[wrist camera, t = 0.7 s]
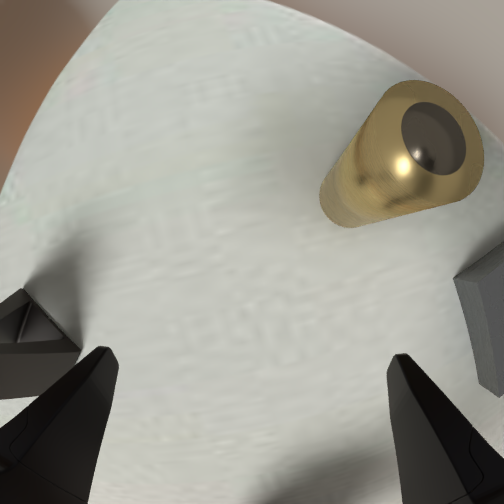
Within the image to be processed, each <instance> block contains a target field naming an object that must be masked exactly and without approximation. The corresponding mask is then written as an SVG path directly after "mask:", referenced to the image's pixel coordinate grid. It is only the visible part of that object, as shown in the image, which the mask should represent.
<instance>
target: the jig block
mask: <svg viewBox="0 0 504 504" xmlns="http://www.w3.org/2000/svg"><path fill="white" fill-rule="evenodd" d="M453 280H454V283H455V286H456V289H457V292H458V296H459V299H460V302H461V306H462V309H463V313H464V316H465V320H466V324H467V328H468V332H469V336H470V340H471V344H472V349H473V353H474V358H475V363H476V368H477V373H478V379H479V384H480V385H482V386H483V387H484V388H486V389H487V390H489V391H490V392H492V393H493V394H494V395H496V396H497V397H499V398H500V397H501V396H502V395H503V394H504V241H503V242H502V243H501V244H500V245H498V246H497V247H496V248H495V249H493V250H492V251H491V252H489V253H488V254H487V255H485V256H484V257H483V258H481V259H480V260H479V261H477V262H476V263H474V264H473V265H472V266H470V267H469V268H468V269H466V270H465V271H463V272H462V273H460V274H459V275H458V276H456V277H455V278H453Z"/></svg>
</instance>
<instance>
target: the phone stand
mask: <svg viewBox="0 0 504 504" xmlns="http://www.w3.org/2000/svg"><path fill="white" fill-rule="evenodd" d="M80 351H81V350H80V348H79V347H78V346H77V345H76V344H75V343H73V342H72V341H71V340H70V339H69V338H68V337H67V336H66V335H65V334H64V333H63V332H62V331H61V330H60V329H59V328H58V326H57V325H56V324H55V323H54V322H53V321H52V320H50V319H48V316H47V315H46V314H45V313H44V312H43V310H42V309H41V308H40V307H39V306H38V305H37V304H36V303H35V301H34V300H33V299H32V298H31V297H30V296H29V295H28V293H27V292H26V291H25V290H24V289H19V290H18V291H16V292H15V293H14V294H12V295H11V296H9V297H8V298H7V299H5V300H4V301H3V302H1V303H0V400H2V399H13V398H23V397H33V396H40V395H41V394H42V393H43V392H44V391H46V390H47V389H48V388H49V387H50V386H51V385H53V384H54V383H55V382H56V381H57V380H58V379H60V378H61V377H62V376H63V375H64V374H66V373H67V372H68V371H69V370H70V369H71V368H73V366H74V364H75V362H76V360H77V357H78V355H79V353H80Z"/></svg>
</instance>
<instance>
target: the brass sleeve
mask: <svg viewBox="0 0 504 504" xmlns="http://www.w3.org/2000/svg"><path fill="white" fill-rule="evenodd" d="M483 166H484V150H483V144H482V140H481V137H480V134H479V131H478V128H477V126H476V124H475V122H474V120H473V119H472V117H471V115H470V114H469V112H468V111H467V110H466V108H465V107H464V106H463V105H462V104H461V103H460V102H459V101H458V100H457V99H456V98H455V97H454V96H453V95H451V94H450V93H449V92H447V91H446V90H444V89H442V88H441V87H439V86H437V85H434V84H432V83H429V82H425V81H419V80H409V81H403V82H400V83H398V84H395V85H394V86H392V87H391V88H389V89H388V90H387V91H386V92H385V93H384V95H383V96H382V97H381V99H380V100H379V102H378V103H377V105H376V106H375V108H374V109H373V111H372V112H371V113H370V115H369V116H368V118H367V119H366V121H365V122H364V124H363V125H362V126H361V128H360V129H359V131H358V132H357V134H356V135H355V137H354V138H353V139H352V141H351V142H350V144H349V145H348V147H347V148H346V149H345V151H344V152H343V154H342V155H341V157H340V158H339V159H338V161H337V162H336V164H335V165H334V166H333V168H332V169H331V171H330V172H329V174H328V175H327V176H326V178H325V179H324V181H323V183H322V185H321V188H320V194H319V198H320V204H321V207H322V209H323V211H324V213H325V215H326V216H327V217H328V218H329V219H330V220H331V221H332V222H334V223H335V224H337V225H339V226H342V227H346V228H354V227H359V226H363V225H367V224H371V223H375V222H379V221H383V220H387V219H391V218H394V217H398V216H402V215H406V214H410V213H414V212H418V211H422V210H426V209H430V208H434V207H438V206H441V205H445V204H449V203H453V202H457V201H460V200H462V199H464V198H466V197H467V196H468V195H470V194H471V193H472V191H473V190H474V189H475V188H476V186H477V185H478V183H479V181H480V178H481V175H482V172H483Z"/></svg>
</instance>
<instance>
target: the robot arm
mask: <svg viewBox="0 0 504 504" xmlns="http://www.w3.org/2000/svg"><path fill="white" fill-rule="evenodd" d="M118 369H119V364H118V361H117V359H116V357H115V355H114V354H113V352H112V350H111V348H109V347H105V346H98V347H96V348H95V349H94V350H93V351H92V352H90V353H89V354H88V355H87V356H86V357H84V358H83V359H82V360H81V361H80V362H79V363H77V364H76V365H75V366H74V367H73V368H71V369H70V370H69V371H68V372H67V373H66V374H64V375H63V376H62V377H61V378H60V379H58V380H57V381H56V382H55V383H54V384H53V385H51V386H50V387H49V388H48V389H47V390H46V391H44V392H43V393H42V394H41V395H40V396H39V397H38V398H36V399H35V400H34V401H33V402H32V403H31V404H29V406H27V407H26V408H25V409H24V410H22V411H21V412H20V413H19V414H18V415H17V416H15V417H14V418H13V419H12V420H10V421H9V422H8V423H6V424H5V425H4V426H2V427H1V428H0V504H88V503H87V502H88V499H89V494H90V489H91V485H92V480H93V476H94V471H95V467H96V463H97V459H98V455H99V451H100V447H101V443H102V439H103V435H104V432H105V428H106V424H107V421H108V417H109V414H110V410H111V406H112V401H113V396H114V390H115V385H116V380H117V375H118ZM387 385H388V396H389V409H390V420H391V426H392V431H393V437H394V443H395V449H396V456H397V462H398V469H399V477H400V484H401V493H402V502H403V504H504V458H503V457H502V456H501V455H499V454H498V453H497V452H496V451H495V450H494V449H493V448H492V447H491V446H490V445H489V444H488V443H487V441H486V440H485V439H484V438H483V437H482V436H481V435H480V434H479V433H478V431H477V430H476V429H475V428H474V427H472V425H471V423H470V422H469V421H468V420H467V419H466V418H465V417H464V415H463V414H462V413H461V412H460V411H459V410H458V409H457V407H456V406H455V405H454V404H453V403H452V402H451V401H450V400H449V398H448V397H447V396H446V395H445V394H444V393H443V392H442V391H441V390H440V389H439V387H438V386H437V385H436V384H435V383H434V382H433V381H432V380H431V379H430V378H429V376H428V375H427V374H426V373H425V372H424V371H423V370H422V369H421V368H420V367H419V366H418V365H417V363H416V362H415V361H414V360H413V359H412V358H411V357H410V356H409V355H408V354H406V353H403V354H395V355H394V356H393V358H392V361H391V363H390V365H389V367H388V370H387Z"/></svg>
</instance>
